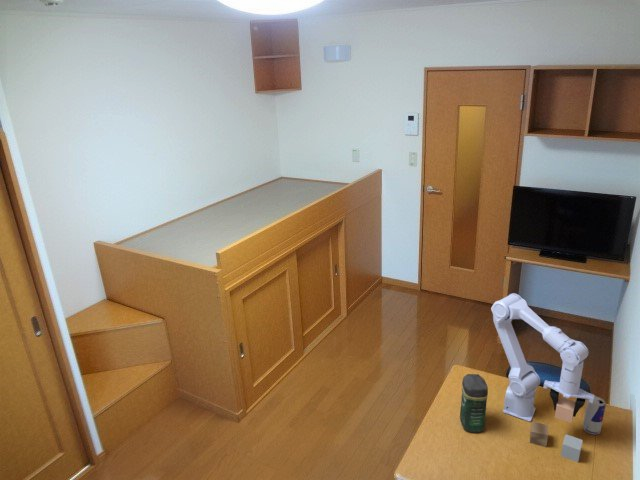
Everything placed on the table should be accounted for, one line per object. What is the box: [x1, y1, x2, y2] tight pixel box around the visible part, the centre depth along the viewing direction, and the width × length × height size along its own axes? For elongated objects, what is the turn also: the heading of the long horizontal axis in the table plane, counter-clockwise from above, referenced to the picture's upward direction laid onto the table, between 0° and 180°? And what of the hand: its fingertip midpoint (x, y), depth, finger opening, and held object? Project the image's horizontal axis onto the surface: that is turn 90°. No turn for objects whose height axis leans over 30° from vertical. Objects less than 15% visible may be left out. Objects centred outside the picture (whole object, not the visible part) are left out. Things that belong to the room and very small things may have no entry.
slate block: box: [560, 434, 583, 463], centre depth 155 cm, size 5×5×5 cm
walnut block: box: [529, 420, 549, 448], centre depth 161 cm, size 5×5×5 cm
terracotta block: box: [554, 396, 576, 424], centre depth 159 cm, size 5×5×5 cm
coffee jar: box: [459, 373, 489, 433], centre depth 167 cm, size 10×8×19 cm
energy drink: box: [582, 395, 607, 436], centre depth 163 cm, size 5×5×12 cm
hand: (565, 411), depth 160 cm, fingers closed on terracotta block, 5 cm apart
